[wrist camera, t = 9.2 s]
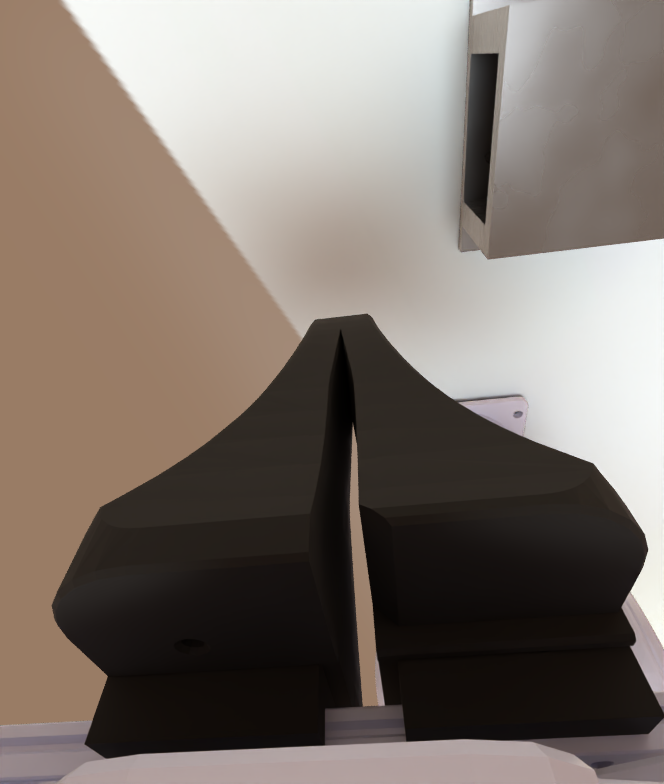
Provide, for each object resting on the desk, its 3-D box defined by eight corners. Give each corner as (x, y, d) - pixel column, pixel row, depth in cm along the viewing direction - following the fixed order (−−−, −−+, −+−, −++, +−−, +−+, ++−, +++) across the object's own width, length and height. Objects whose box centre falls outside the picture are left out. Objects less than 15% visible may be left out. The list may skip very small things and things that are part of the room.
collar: (663, 224, 19) (735, 259, 16) (459, 249, 20) (485, 288, 16) (757, -76, 14) (896, -119, 10) (471, -29, 14) (514, -54, 11)
